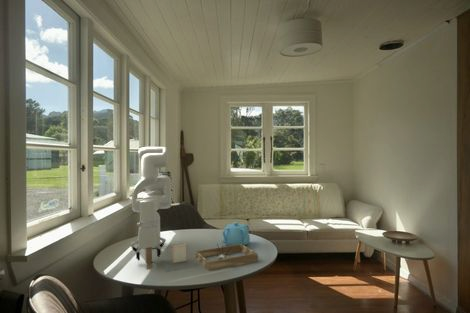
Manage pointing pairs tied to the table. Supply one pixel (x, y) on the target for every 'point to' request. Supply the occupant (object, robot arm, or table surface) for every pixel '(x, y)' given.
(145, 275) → the table surface
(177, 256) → the tile
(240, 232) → the decorative pot
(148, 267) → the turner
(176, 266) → the mat
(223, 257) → the reed diffuser
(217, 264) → the wooden frame
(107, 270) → the table surface
